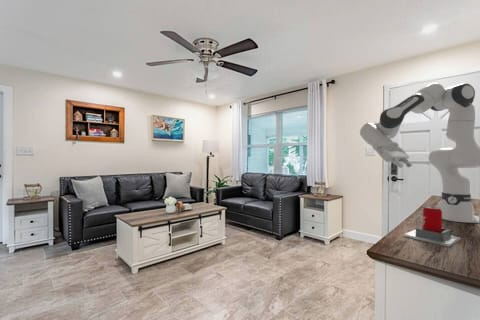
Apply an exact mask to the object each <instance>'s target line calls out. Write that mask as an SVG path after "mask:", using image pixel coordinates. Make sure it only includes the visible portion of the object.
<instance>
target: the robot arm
mask: <svg viewBox="0 0 480 320" xmlns="http://www.w3.org/2000/svg"><path fill="white" fill-rule="evenodd" d="M475 96H476V90H475V87H473V86H472V85H471V84H469V83H458V84H456V85H453V86H449V87H447V88H444V86H443V85H442V84H440V83H438V82H432V83H429V84H427V85H425V86H423V87H422V88H420V89H419V90H418V91H416V92H415V93H414V94H412V95H409V97H407V98H405V99H404V100H402V101H401V102H400V103H398V104H396V105H394V106H392V107H389V108H386V109H384V110H383V111H382V112H381V113H380V116H379V122H373V123H372V122H366V123H365V124H363V126H362V127H361V128H360V130H359V136H361V138H362V139H363V141H365V142H366V143H367V144H368V145H370V146H371V147H372V149H373V150H374V151H375V152H376V153H377V154H378V155H379V156H380V158H382V160H383V161H385V162H386V163H392V164H394V165H395V166H397V168H399V169H401V168H403V167H404V166H406V167H407V168H411V167H412V166H413V164H412V163H411V162H410V161H409V158H410V156H409V155H408V153H406V151H405V150H404V149H403V148H401V147H400V144H399V143H397V142H395V141H393V140H392V139H394V138H395V137H396V136H397V134H398V132H399V130H400V127H401V125H402V122H403V120H404V118H405V116H406V115H407V114H409V113H410V112H411V113H415V114H423V113H426V112H427V111H428V110H431V111H434V112H441V111H444V110H448V112H449V115H448V119H447V126H446V133H445V135H446V137H447V139H448V140H450V141H452V142H455V147H442V148H441V147H440V148H436V149H433V150H431V151H430V152H429V155H428V160H429V163H430V164H431V166H433V167H434V168H435V169H437V171H438V172H439V174H440V176H441V183H442V184H441V185H442V192H441V196H440V197H441V200H440V201H439V202H437V207H440V209H441V211H442V220H445V221H450V222H456V223H469V224H470V223H473V224H480V216H478V215H477V214H476V212H475V211H474V205H473V204H472V202H471V201H472V195H471V192H470V191H471V189H470V187H471V184H470V183H471V182H470V179H469V178H468V177H467V176H465V175H463V174H461V172H460V171H459V169H477V168H480V146H479V144H478V143H477V142H476V139H475V124H476V109H475V106H474V105H473V103H474V100H475V98H476V97H475ZM404 164H405V165H404Z"/></svg>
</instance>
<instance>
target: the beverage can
mask: <svg viewBox="0 0 480 320" xmlns="http://www.w3.org/2000/svg"><path fill="white" fill-rule="evenodd" d="M442 228H443V219H442V211H441V209H440V207H438V206H434V205H424V207H423V209H422V229H425V230H430V231H435V232H439V233H441V232H442Z"/></svg>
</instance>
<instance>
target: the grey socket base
mask: <svg viewBox="0 0 480 320" xmlns="http://www.w3.org/2000/svg"><path fill="white" fill-rule="evenodd" d="M403 236H404V237H405V238H409V239H414V240H418V241H422V242H427V243H431V244H435V245H438V246H443V247H448V248H450V247H452V246H453V245H454V244H456V243H458V242H460V240H461V237H460V236H455V235H452V229H450V228H444V227H442V232H441V233H439V232H435V231H430V230H425V229H423V228H421V227H419V228H418V227H415V229H413V230H411V231H409V232H406V233H404V234H403Z"/></svg>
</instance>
